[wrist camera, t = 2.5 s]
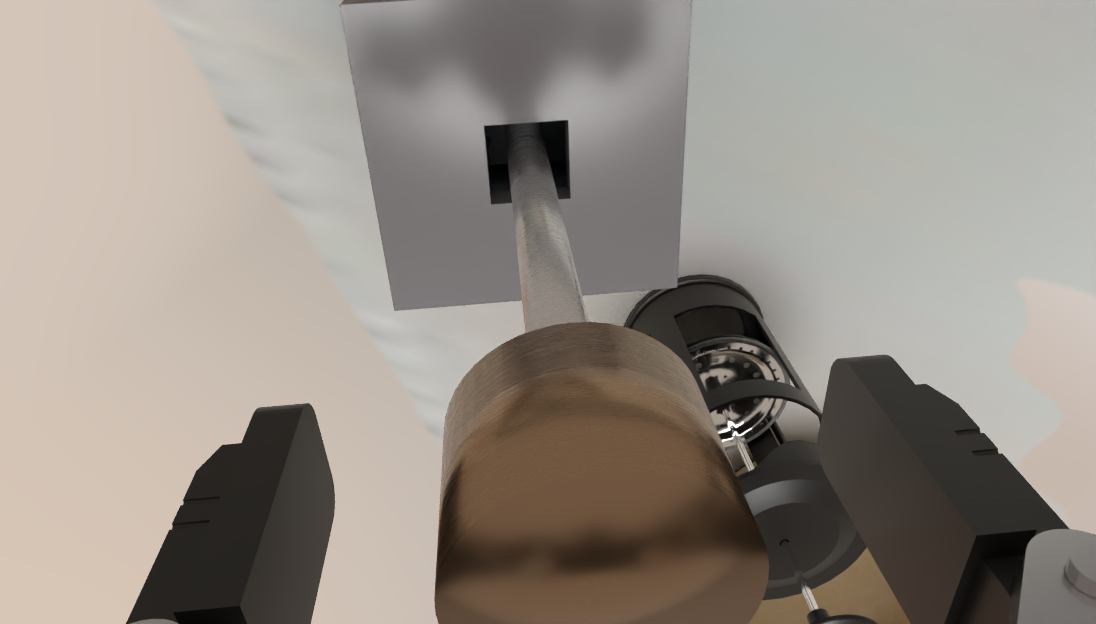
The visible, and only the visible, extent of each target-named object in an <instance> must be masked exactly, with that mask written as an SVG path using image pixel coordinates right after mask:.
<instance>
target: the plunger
mask: <svg viewBox="0 0 1096 624" xmlns="http://www.w3.org/2000/svg"><path fill="white" fill-rule="evenodd" d="M484 127H485V138H486V148H487V159H488V165H496V164H508V169H509V178H510V188H511V198H512V207H513V217H514V226H515V236H516V245H517V255H518V265H519V274H520V284H521V293H522V303H523V312H524V322H525V332H526V333H525V334H522V335H520V336H517V337H515V338H513V339H511V340H509V341H507V342H506V343H504V344H502V345H500V346H499V347H497V348H496V349H494V350H493V351H491V352H490V353H488V354H487V355H486V356H485V357H483V358H482V359H481V360H480V361H479V362H478V363H477V364H475V365H474V366H473V368H472V369H471V370H470V371H469V372H468V373H467V374H466V376H465V377H464V378H463V379H462V381H461V383H460V384H459V386H458V387H457V389H456V390H455V392H454V394H453V397H452V399H451V401H450V403H449V407H448V410H447V414H446V417H445V427H444V442H443V459H442V479H441V494H440V513H439V529H438V549H437V565H436V582H435V610H436V616H437V619H438V623H439V624H748V623H749V622H750V621H751V619H752V618H753V616H754V615H755V613H756V611H757V610H758V608H759V606H760V604H761V602H762V599H763V597H764V595H765V591H766V587H767V583H768V576H769V561H768V553H767V549H766V546H765V543H764V541H763V538H762V535H761V533H760V531H759V528H758V526H757V524H756V521H755V519H754V516H753V514H752V512H751V509H750V507H749V505H748V502H747V500H746V498H745V495H744V493H743V490H742V488H741V486H740V483H739V481H738V479H737V476H736V474H735V472H734V469H733V467H732V465H731V462H730V460H729V457H728V455H727V453H726V450H725V448H724V446H723V443H722V441H721V439H720V436H719V434H718V432H717V429H716V427H715V424H714V422H713V420H712V417H711V415H710V413H709V410H708V408H707V406H706V403H705V401H704V398H703V396H702V394H701V391H700V389H699V387H698V384H697V382H696V380H695V378H694V377H693V375H692V373H691V371H690V370H689V368H688V367H687V366H686V365H685V364H684V362H683V361H682V360H681V359H680V358H679V357H678V356H677V355H676V354H675V353H674V352H673V351H672V350H670V349H669V348H668V347H666V346H665V345H663V344H662V343H660V342H659V341H657V340H656V339H654V338H652V337H649V336H647V335H645V334H643V333H641V332H638V331H635V330H632V329H629V328H626V327H622V326H617V325H612V324H606V323H594V322H588V318H587V314H586V310H585V306H584V302H583V298H582V294H581V289H580V285H579V281H578V277H577V273H576V269H575V265H574V261H573V257H572V253H571V248H570V244H569V240H568V236H567V232H566V228H565V224H564V220H563V216H562V212H561V207H560V203H559V199H558V195H557V191H556V187H555V183H554V179H553V175H552V171H551V166H550V162H549V161H550V160H564V159H566V136H565V120H559V121H545V122H531V123H517V124H503V125H488V126H484Z"/></svg>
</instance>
